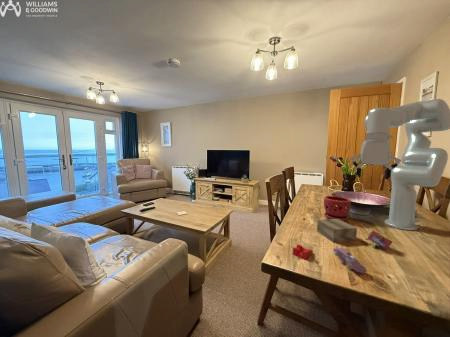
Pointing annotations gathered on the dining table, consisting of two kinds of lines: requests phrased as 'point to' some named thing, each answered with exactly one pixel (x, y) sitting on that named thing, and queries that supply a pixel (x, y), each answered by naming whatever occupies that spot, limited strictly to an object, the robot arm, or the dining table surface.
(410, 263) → the dining table surface
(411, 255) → the dining table surface
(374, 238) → the geometric puzzle
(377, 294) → the dining table surface
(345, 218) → the plant pot
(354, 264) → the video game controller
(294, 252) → the bracket
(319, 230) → the walnut block
